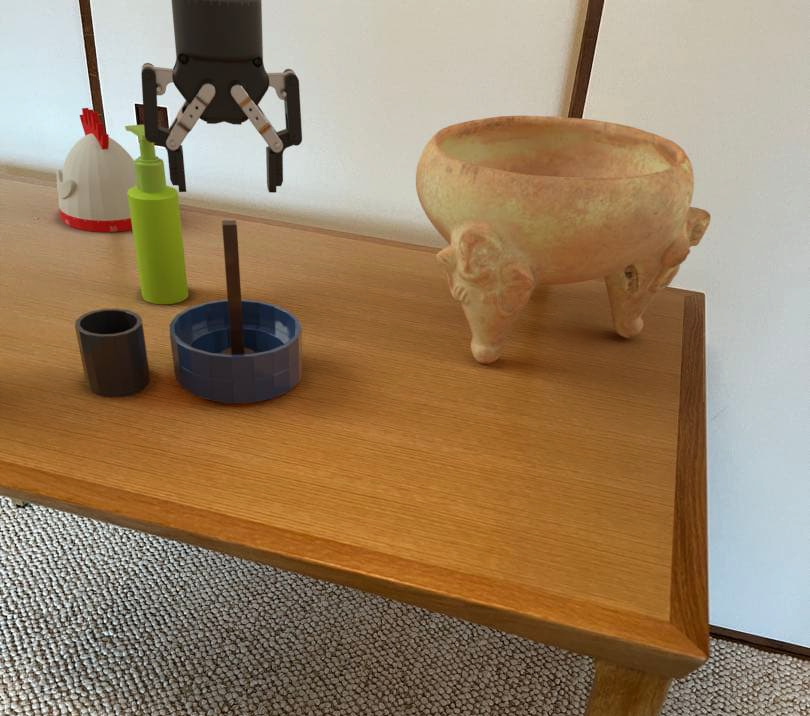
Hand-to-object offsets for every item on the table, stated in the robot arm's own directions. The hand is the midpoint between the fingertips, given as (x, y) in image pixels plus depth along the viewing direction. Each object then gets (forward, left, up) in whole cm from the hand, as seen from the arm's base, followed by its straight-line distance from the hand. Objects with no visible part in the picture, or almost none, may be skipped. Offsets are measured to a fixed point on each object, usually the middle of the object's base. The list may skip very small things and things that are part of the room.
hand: (227, 190), depth 79 cm
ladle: (0, 0, -20) cm, 20 cm away
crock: (-13, 0, -20) cm, 24 cm away
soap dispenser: (-8, +23, -20) cm, 32 cm away
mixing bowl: (0, 0, -20) cm, 20 cm away
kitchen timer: (-16, +53, -20) cm, 59 cm away
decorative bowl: (+39, +11, -20) cm, 45 cm away
